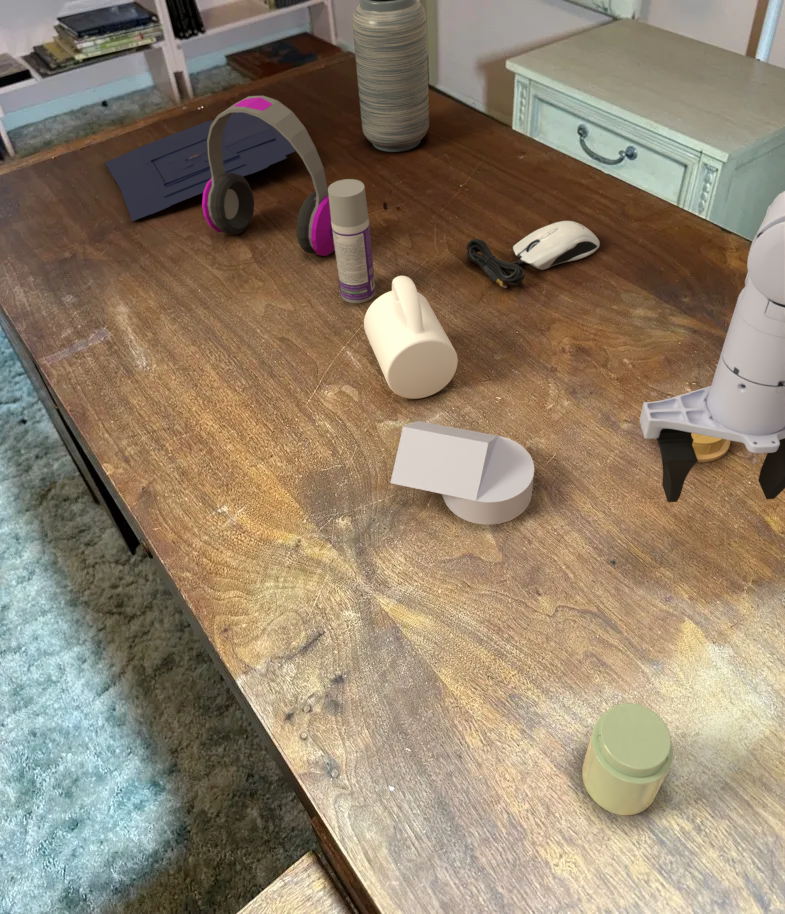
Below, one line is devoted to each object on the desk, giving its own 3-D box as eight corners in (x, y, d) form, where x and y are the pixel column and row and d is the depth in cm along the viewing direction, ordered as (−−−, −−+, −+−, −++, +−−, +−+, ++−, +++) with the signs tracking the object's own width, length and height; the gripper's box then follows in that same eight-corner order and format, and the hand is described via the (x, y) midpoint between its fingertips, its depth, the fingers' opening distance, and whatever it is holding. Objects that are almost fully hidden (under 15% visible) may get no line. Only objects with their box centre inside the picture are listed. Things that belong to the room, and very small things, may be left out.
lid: (679, 408, 83) (682, 396, 81) (733, 428, 80) (737, 417, 79) (657, 440, 79) (659, 428, 78) (712, 462, 77) (716, 451, 76)
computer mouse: (615, 255, 105) (619, 228, 102) (502, 296, 100) (503, 270, 97) (570, 223, 111) (573, 198, 108) (463, 261, 106) (463, 235, 103)
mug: (389, 406, 86) (381, 320, 78) (366, 353, 93) (357, 267, 85) (458, 390, 88) (458, 302, 79) (430, 338, 95) (427, 252, 86)
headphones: (354, 239, 112) (338, 99, 98) (323, 270, 107) (302, 127, 92) (238, 214, 119) (208, 80, 105) (204, 241, 114) (168, 105, 100)
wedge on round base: (392, 505, 76) (521, 533, 73) (387, 459, 72) (525, 486, 68) (419, 443, 82) (539, 466, 79) (416, 396, 77) (545, 419, 74)
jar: (655, 748, 58) (675, 703, 53) (658, 821, 54) (680, 782, 49) (583, 736, 59) (595, 691, 54) (581, 808, 55) (593, 768, 50)
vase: (350, 147, 133) (334, -1, 117) (390, 122, 140) (380, -22, 123) (403, 162, 128) (394, 9, 112) (442, 135, 134) (440, -13, 118)
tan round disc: (726, 418, 82) (727, 415, 81) (732, 466, 77) (733, 462, 77) (658, 412, 83) (658, 409, 83) (660, 458, 78) (661, 455, 78)
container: (356, 279, 105) (344, 175, 94) (382, 290, 102) (373, 184, 92) (333, 296, 102) (318, 190, 91) (360, 307, 100) (347, 200, 89)
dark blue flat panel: (311, 168, 126) (305, 147, 123) (139, 237, 121) (130, 217, 118) (264, 116, 142) (258, 97, 139) (111, 176, 137) (101, 157, 134)
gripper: (671, 403, 49) (636, 533, 59) (903, 394, 49) (829, 527, 58) (647, 336, 54) (619, 466, 64) (858, 327, 53) (796, 460, 63)
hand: (717, 491), depth 62 cm, fingers open, 7 cm apart
